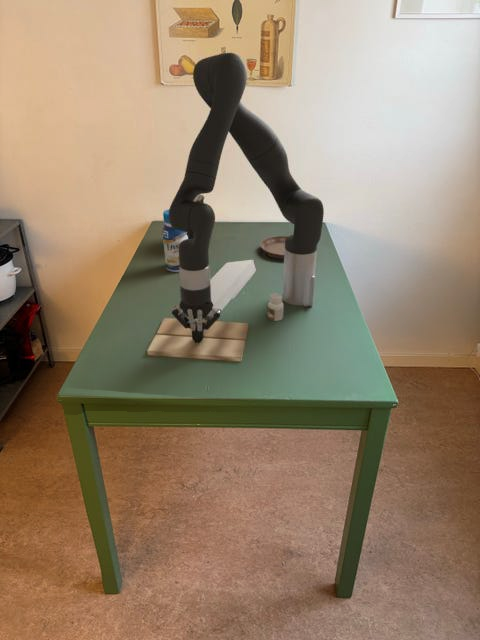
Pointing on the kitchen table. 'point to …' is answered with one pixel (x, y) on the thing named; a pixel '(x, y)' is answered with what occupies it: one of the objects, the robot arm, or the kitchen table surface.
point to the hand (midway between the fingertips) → (198, 340)
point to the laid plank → (215, 331)
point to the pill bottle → (275, 307)
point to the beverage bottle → (172, 244)
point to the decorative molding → (230, 282)
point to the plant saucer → (274, 246)
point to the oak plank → (197, 348)
